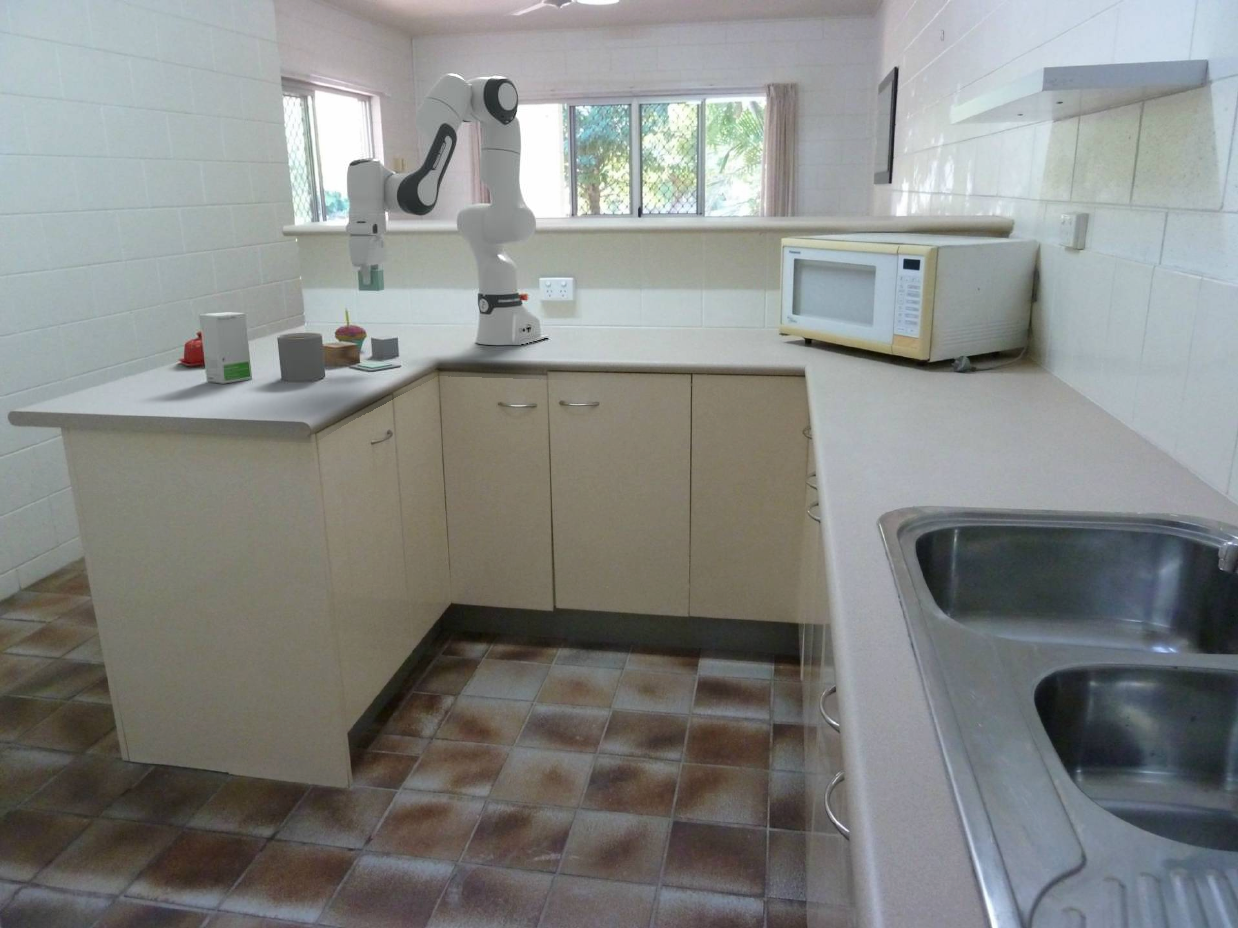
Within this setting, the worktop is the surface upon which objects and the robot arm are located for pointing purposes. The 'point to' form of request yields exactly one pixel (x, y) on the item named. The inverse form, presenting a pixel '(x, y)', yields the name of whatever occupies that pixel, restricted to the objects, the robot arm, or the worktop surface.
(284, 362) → the coffee mug
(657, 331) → the worktop surface
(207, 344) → the skincare box
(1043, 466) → the worktop surface
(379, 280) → the teal block
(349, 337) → the cupcake
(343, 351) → the walnut block
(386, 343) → the grey block
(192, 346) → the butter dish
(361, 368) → the tile
